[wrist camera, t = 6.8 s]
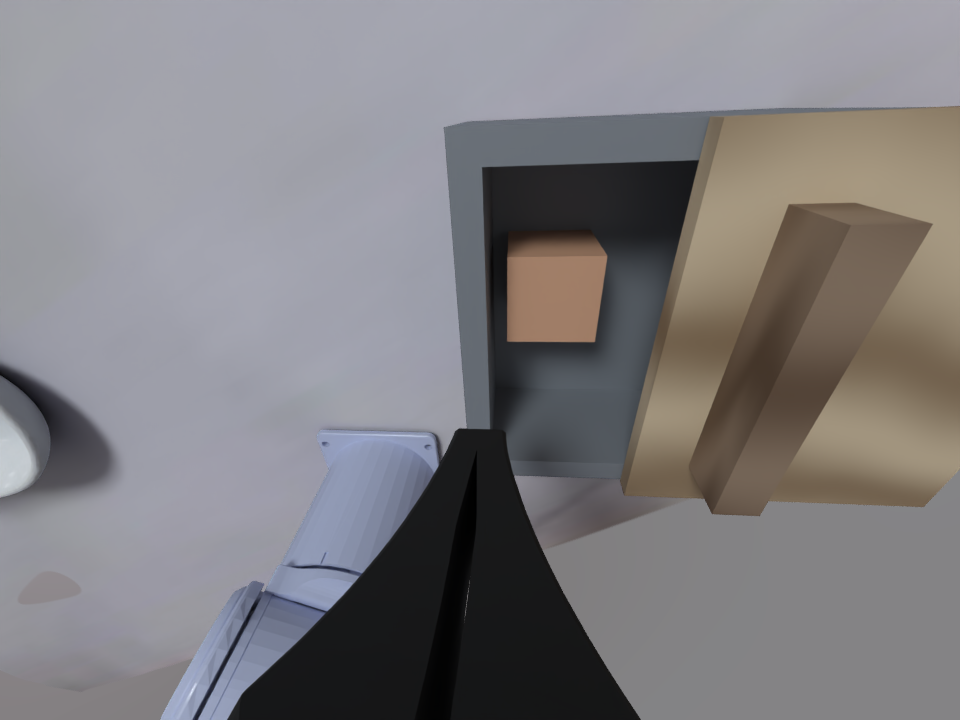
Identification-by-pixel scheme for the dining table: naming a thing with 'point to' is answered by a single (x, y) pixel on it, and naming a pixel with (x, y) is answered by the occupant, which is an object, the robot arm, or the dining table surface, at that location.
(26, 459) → the spoon rest
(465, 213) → the box
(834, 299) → the lid
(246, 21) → the dining table surface
